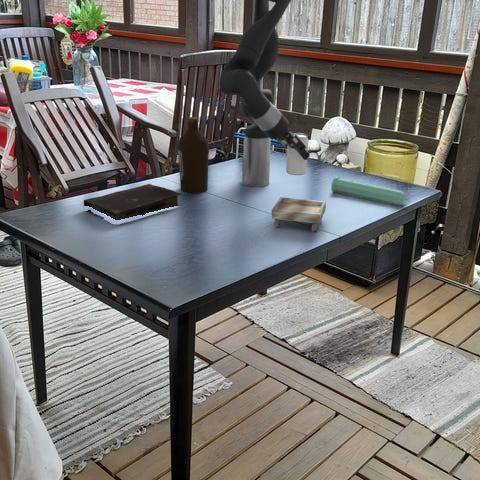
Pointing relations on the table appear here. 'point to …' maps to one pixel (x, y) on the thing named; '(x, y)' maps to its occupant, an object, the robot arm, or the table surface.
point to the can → (296, 158)
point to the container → (368, 191)
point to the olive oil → (193, 159)
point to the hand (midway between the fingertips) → (301, 154)
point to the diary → (134, 201)
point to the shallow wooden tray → (298, 211)
